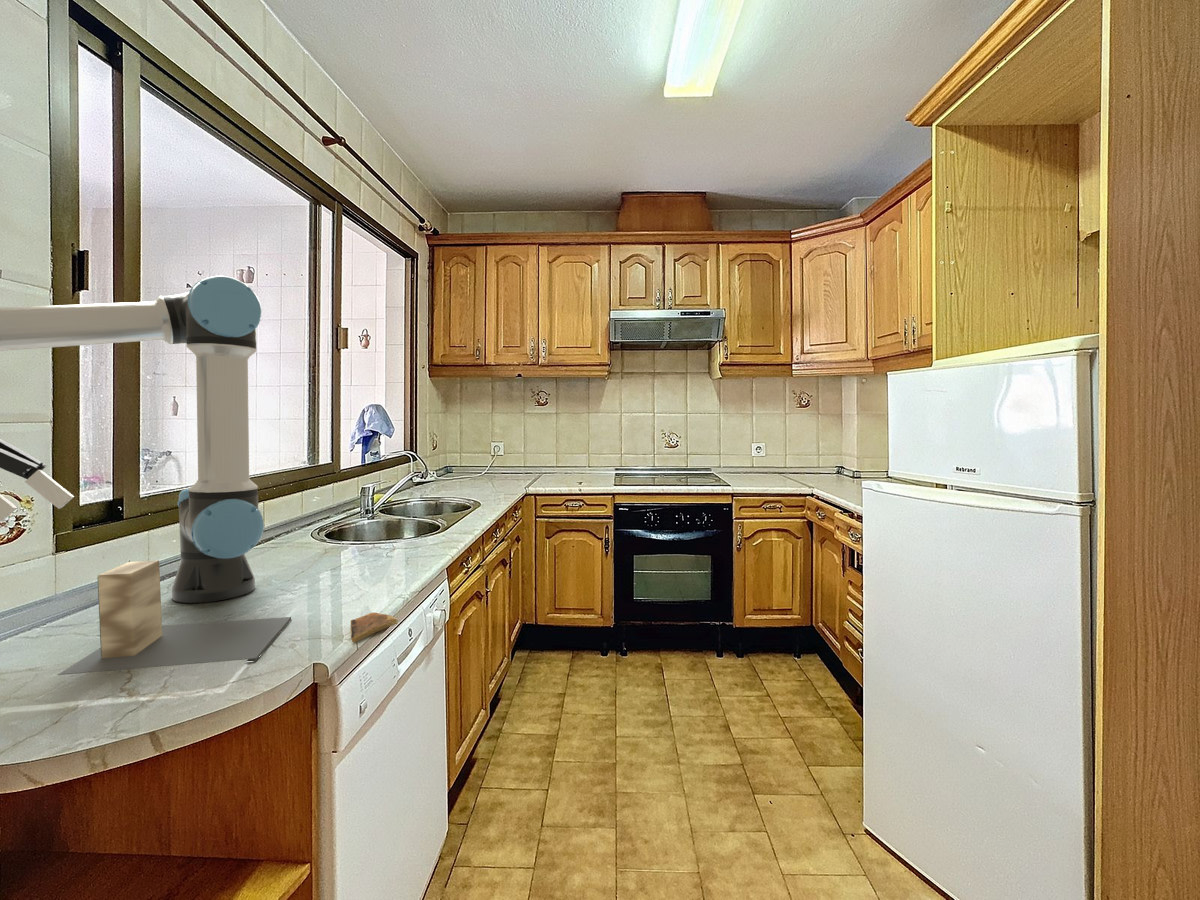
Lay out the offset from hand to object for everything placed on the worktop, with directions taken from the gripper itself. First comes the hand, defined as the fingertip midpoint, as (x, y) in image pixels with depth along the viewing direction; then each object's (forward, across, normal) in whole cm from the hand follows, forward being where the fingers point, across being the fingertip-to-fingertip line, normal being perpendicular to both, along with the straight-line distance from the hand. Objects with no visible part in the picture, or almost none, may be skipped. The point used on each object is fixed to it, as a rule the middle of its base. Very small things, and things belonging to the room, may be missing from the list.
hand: (39, 508), depth 94 cm
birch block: (+25, 0, -8) cm, 26 cm away
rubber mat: (+31, 0, -2) cm, 31 cm away
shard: (+51, -1, +18) cm, 54 cm away
